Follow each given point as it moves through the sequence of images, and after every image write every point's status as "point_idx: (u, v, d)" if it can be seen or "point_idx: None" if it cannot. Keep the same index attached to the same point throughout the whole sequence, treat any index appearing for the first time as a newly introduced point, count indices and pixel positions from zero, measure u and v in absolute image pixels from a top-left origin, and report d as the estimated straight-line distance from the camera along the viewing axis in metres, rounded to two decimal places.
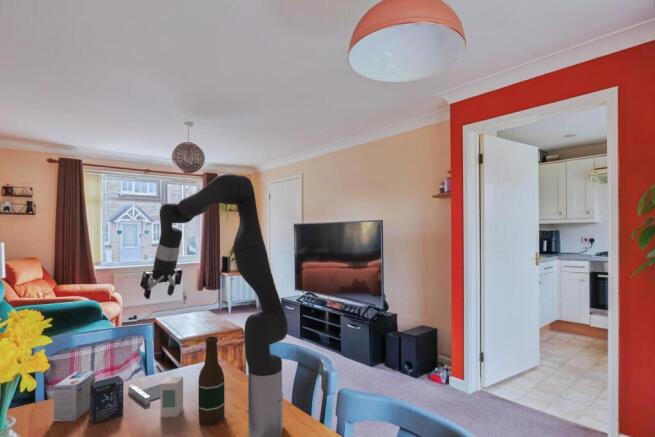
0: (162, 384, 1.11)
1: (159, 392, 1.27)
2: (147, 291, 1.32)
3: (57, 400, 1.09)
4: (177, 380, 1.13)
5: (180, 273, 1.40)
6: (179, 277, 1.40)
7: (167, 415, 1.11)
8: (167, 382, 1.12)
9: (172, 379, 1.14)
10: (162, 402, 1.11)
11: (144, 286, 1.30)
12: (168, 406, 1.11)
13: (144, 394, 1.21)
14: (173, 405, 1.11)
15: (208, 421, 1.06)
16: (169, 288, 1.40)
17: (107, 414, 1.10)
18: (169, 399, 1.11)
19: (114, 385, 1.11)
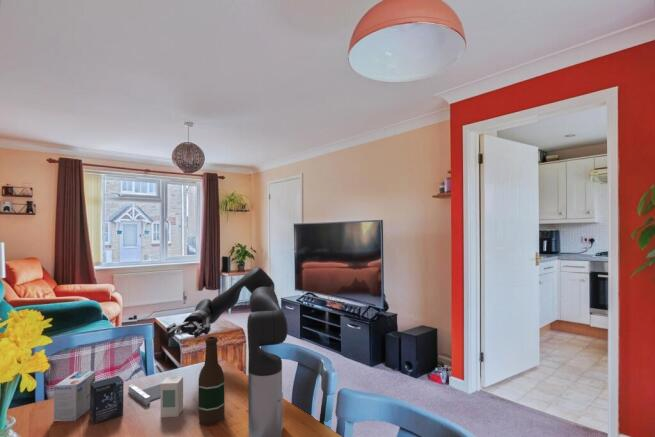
0: (162, 384, 1.11)
1: (159, 392, 1.27)
2: (170, 330, 1.28)
3: (57, 400, 1.09)
4: (177, 380, 1.13)
5: (208, 323, 1.34)
6: (206, 325, 1.33)
7: (167, 415, 1.11)
8: (167, 382, 1.12)
9: (172, 379, 1.14)
10: (162, 402, 1.11)
11: (168, 327, 1.30)
12: (168, 406, 1.11)
13: (144, 394, 1.21)
14: (173, 405, 1.11)
15: (208, 421, 1.06)
16: None
17: (107, 414, 1.10)
18: (169, 399, 1.11)
19: (114, 385, 1.11)
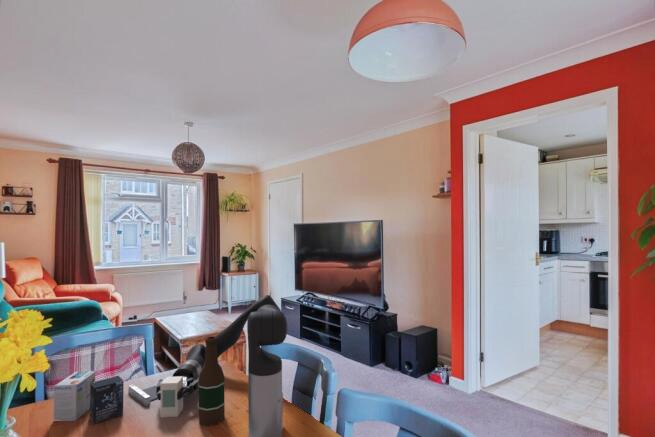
0: (162, 384, 1.11)
1: None
2: (160, 390, 1.14)
3: (57, 400, 1.09)
4: (177, 380, 1.13)
5: (197, 379, 1.21)
6: (194, 382, 1.19)
7: (167, 415, 1.11)
8: (167, 382, 1.12)
9: (172, 379, 1.14)
10: (162, 402, 1.11)
11: (157, 385, 1.16)
12: (168, 406, 1.11)
13: (144, 394, 1.21)
14: (173, 405, 1.11)
15: (208, 421, 1.06)
16: None
17: (107, 414, 1.10)
18: (169, 399, 1.11)
19: (114, 385, 1.11)
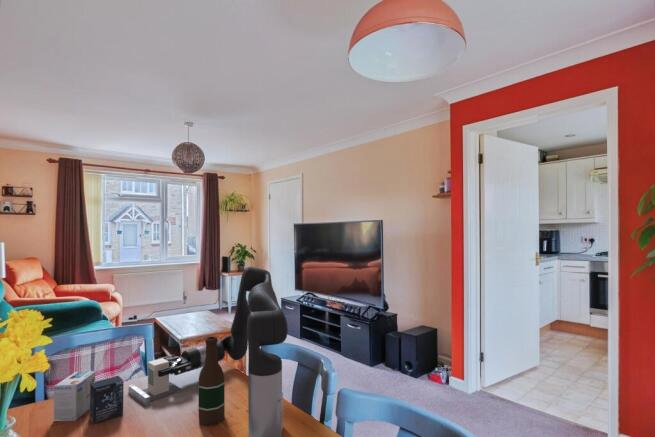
0: (148, 363, 1.28)
1: None
2: None
3: (57, 400, 1.09)
4: (159, 363, 1.27)
5: (187, 363, 1.30)
6: (182, 365, 1.28)
7: (150, 391, 1.27)
8: (152, 362, 1.27)
9: (159, 361, 1.29)
10: (148, 378, 1.28)
11: (160, 358, 1.36)
12: (150, 384, 1.26)
13: (144, 394, 1.21)
14: (152, 384, 1.25)
15: (208, 421, 1.06)
16: None
17: (107, 414, 1.10)
18: (150, 378, 1.26)
19: (114, 385, 1.11)
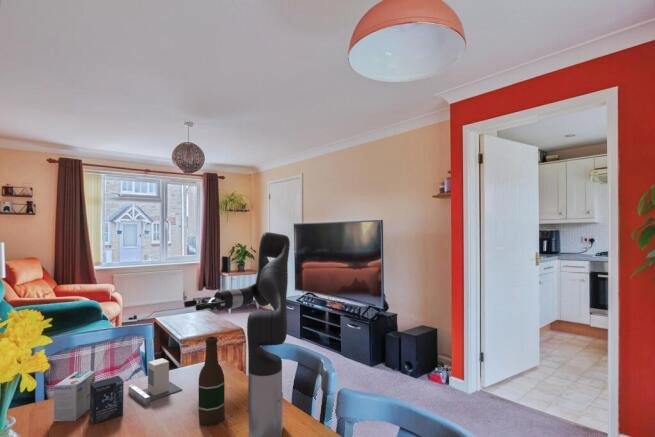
0: (148, 363, 1.28)
1: None
2: None
3: (57, 400, 1.09)
4: (159, 363, 1.27)
5: (221, 301, 1.39)
6: (217, 301, 1.37)
7: (150, 391, 1.27)
8: (152, 362, 1.27)
9: (159, 361, 1.29)
10: (148, 378, 1.28)
11: (195, 298, 1.45)
12: (150, 384, 1.26)
13: (144, 394, 1.21)
14: (152, 384, 1.25)
15: (208, 421, 1.06)
16: None
17: (107, 414, 1.10)
18: (150, 378, 1.26)
19: (114, 385, 1.11)
